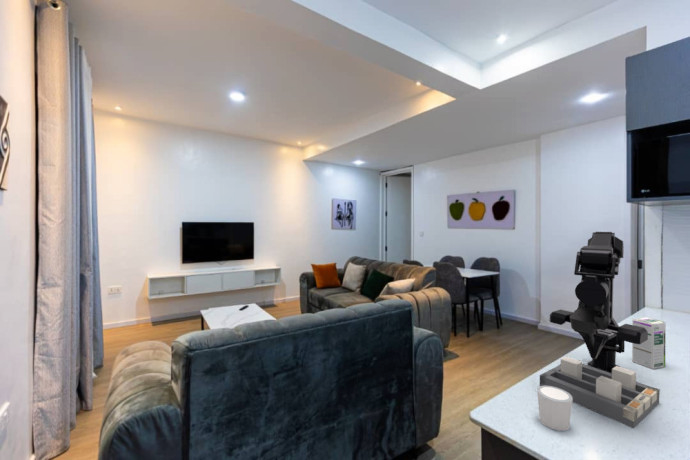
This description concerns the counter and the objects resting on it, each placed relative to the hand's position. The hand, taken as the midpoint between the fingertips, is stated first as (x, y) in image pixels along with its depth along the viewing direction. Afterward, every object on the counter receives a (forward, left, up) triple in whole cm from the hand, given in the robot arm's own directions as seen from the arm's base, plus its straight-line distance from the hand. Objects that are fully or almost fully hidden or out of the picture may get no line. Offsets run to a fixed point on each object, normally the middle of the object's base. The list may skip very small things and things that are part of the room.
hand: (593, 358), depth 79 cm
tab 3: (-10, +3, -10) cm, 14 cm away
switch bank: (-5, -1, -12) cm, 13 cm away
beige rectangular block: (-5, -7, -10) cm, 13 cm away
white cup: (+17, -2, -12) cm, 21 cm away
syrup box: (-40, 0, -12) cm, 42 cm away
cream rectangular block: (0, +3, -10) cm, 10 cm away
